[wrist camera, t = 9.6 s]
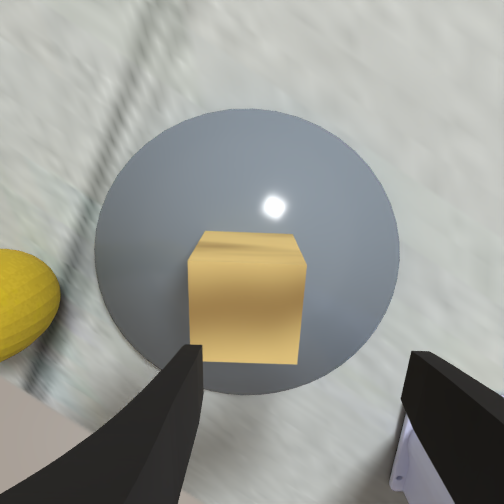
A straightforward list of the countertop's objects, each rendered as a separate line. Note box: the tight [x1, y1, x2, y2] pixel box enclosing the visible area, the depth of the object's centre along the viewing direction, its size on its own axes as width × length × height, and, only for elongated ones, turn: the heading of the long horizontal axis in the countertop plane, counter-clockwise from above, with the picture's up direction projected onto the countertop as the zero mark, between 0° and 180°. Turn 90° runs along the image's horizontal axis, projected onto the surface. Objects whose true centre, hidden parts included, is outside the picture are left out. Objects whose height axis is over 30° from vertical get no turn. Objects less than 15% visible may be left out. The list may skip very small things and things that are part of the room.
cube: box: [188, 231, 307, 365], centre depth 16 cm, size 5×5×5 cm
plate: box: [94, 109, 400, 395], centre depth 19 cm, size 18×18×1 cm
